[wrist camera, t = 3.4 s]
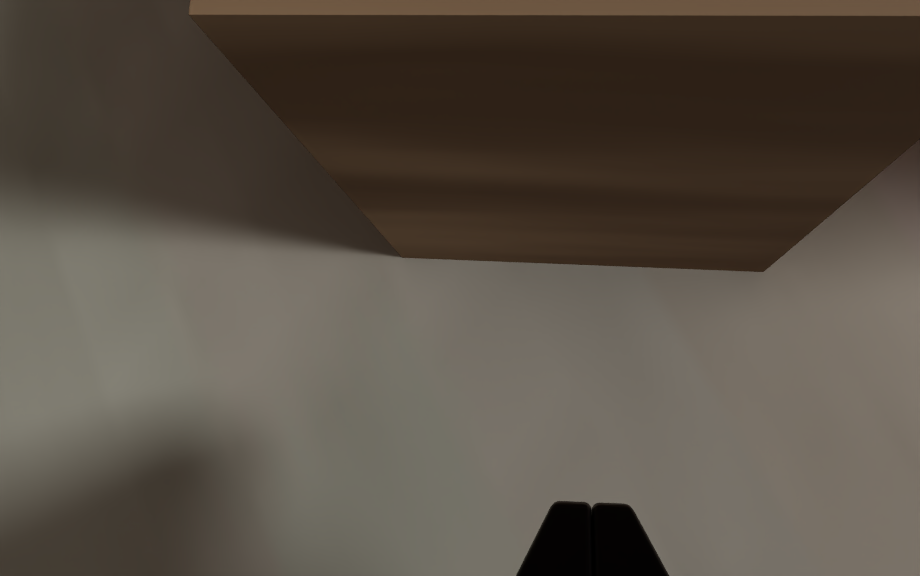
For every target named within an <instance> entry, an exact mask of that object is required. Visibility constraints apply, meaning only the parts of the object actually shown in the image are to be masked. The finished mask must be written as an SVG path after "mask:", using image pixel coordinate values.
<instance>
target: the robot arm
mask: <svg viewBox="0 0 920 576" xmlns="http://www.w3.org/2000/svg"><path fill="white" fill-rule="evenodd" d="M516 576H669V574H668V573H667V571H666V569H665V567H664V565H663V563H662V562H661V560H660V558H659V556H658V554H657V552H656V551H655V549H654V547H653V545H652V543H651V541H650V539H649V538H648V536H647V534H646V532H645V530H644V528H643V527H642V525H641V523H640V521H639V519H638V517H637V516H636V514H635V512H634V510H633V509H632V508H631V507H630V506H629V505H627V504H619V503H596V504H595V505H594V506H593V507H592V510H591V506H590V505H589V504H588V503H586V502H570V501H557V502H555V503H554V504H553V505H552V506H551V507H550V509H549V511H548V513H547V515H546V517H545V519H544V521H543V523H542V525H541V527H540V529H539V531H538V533H537V535H536V537H535V539H534V541H533V543H532V545H531V547H530V549H529V551H528V553H527V555H526V557H525V559H524V561H523V563H522V565H521V567H520V569H519V571H518V573H517V575H516Z"/></svg>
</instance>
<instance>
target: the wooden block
mask: <svg viewBox="0 0 920 576" xmlns="http://www.w3.org/2000/svg"><path fill="white" fill-rule="evenodd" d="M189 16H190V17H191V18H192V19H193V20H194V21H195V22H196V24H197V25H198V26H199V27H200V28H201V29H202V30H203V31H204V33H205V34H206V35H207V36H208V37H209V38H210V39H211V41H212V42H213V43H214V44H215V45H216V46H217V47H218V49H219V50H220V51H221V52H222V53H223V54H224V55H225V57H226V58H227V59H228V60H229V61H230V62H231V63H232V64H233V66H234V67H235V68H236V69H237V70H238V71H239V72H240V74H241V75H242V76H243V77H244V78H245V79H246V80H247V82H248V83H249V84H250V85H251V86H252V87H253V88H254V89H255V91H256V92H257V93H258V94H259V95H260V96H261V97H262V99H263V100H264V101H265V102H266V103H267V104H268V105H269V107H270V108H271V109H272V110H273V111H274V112H275V113H276V115H277V116H278V117H279V118H280V119H281V120H282V121H283V122H284V124H285V125H286V126H287V127H288V128H289V129H290V130H291V132H292V133H293V134H294V135H295V136H296V137H297V138H298V140H299V141H300V142H301V143H302V144H303V145H304V146H305V147H306V149H307V150H308V151H309V152H310V153H311V154H312V155H313V157H314V158H315V159H316V160H317V161H318V162H319V163H320V165H321V166H322V167H323V168H324V169H325V170H326V171H327V173H328V174H329V175H330V176H331V177H332V178H333V179H334V180H335V182H336V183H337V184H338V185H339V186H340V187H341V188H342V190H343V191H344V192H345V193H346V194H347V195H348V196H349V198H350V199H351V200H352V201H353V202H354V203H355V204H356V206H357V207H358V208H359V209H360V210H361V211H362V212H363V213H364V215H365V216H366V217H367V218H368V219H369V220H370V221H371V223H372V224H373V225H374V226H375V227H376V228H377V229H378V231H379V232H380V233H381V234H382V235H383V236H384V237H385V238H386V240H387V241H388V242H389V243H390V244H391V245H392V246H393V248H394V249H395V250H396V251H397V252H398V253H399V254H400V256H401V257H402V258H426V259H452V260H477V261H502V262H527V263H552V264H578V265H603V266H628V267H653V268H678V269H703V270H729V271H754V272H764V271H765V270H766V269H767V268H769V267H770V266H771V265H772V264H773V263H774V262H776V261H777V260H778V259H779V258H780V257H781V256H783V255H784V254H785V253H786V252H787V251H789V250H790V249H791V248H792V247H793V246H794V245H796V244H797V243H798V242H799V241H800V240H801V239H803V238H804V237H805V236H806V235H807V234H809V233H810V232H811V231H812V230H813V229H814V228H816V227H817V226H818V225H819V224H820V223H821V222H823V221H824V220H825V219H826V218H827V217H829V216H830V215H831V214H832V213H833V212H834V211H836V210H837V209H838V208H839V207H840V206H841V205H843V204H844V203H845V202H846V201H847V200H849V199H850V198H851V197H852V196H853V195H854V194H856V193H857V192H858V191H859V190H860V189H861V188H863V187H864V186H865V185H866V184H867V183H869V182H870V181H871V180H872V179H873V178H874V177H876V176H877V175H878V174H879V173H880V172H881V171H883V170H884V169H885V168H886V167H887V166H889V165H890V164H891V163H892V162H893V161H894V160H896V159H897V158H898V157H899V156H900V155H901V154H903V153H904V152H905V151H906V150H907V149H909V148H910V147H911V146H912V145H913V144H914V143H916V142H917V141H918V140H919V139H920V0H190V8H189Z"/></svg>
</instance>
